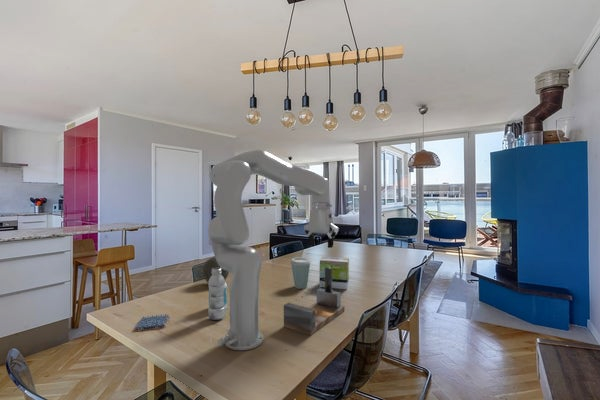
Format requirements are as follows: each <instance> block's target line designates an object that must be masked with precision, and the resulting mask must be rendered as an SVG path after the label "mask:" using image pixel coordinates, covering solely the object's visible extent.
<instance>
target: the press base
mask: <svg viewBox="0 0 600 400" xmlns="http://www.w3.org/2000/svg"><path fill="white" fill-rule="evenodd" d="M344 312H345V306H344V305H341V306H340V307H338V308H334V307H330V306H326V305H322V304H318V303H317V302H315V303H313V304H311V305H310V306H308V307H306V306H303V305H299V304H295V303H291V302H287V303H284V304H283V327H285V328H287V329H291V330H294V331H296V332H299V333H303V334H306V335H308V336H312V335H313V334H315V333H316V332H318V331H319V330H321V329H322V328H323V327H325V326H326V325H327V324H328V323H330V322H332V321H333V320H334V319H336V318H337V317H338V316H339V315H341V314H342V313H344Z"/></svg>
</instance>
